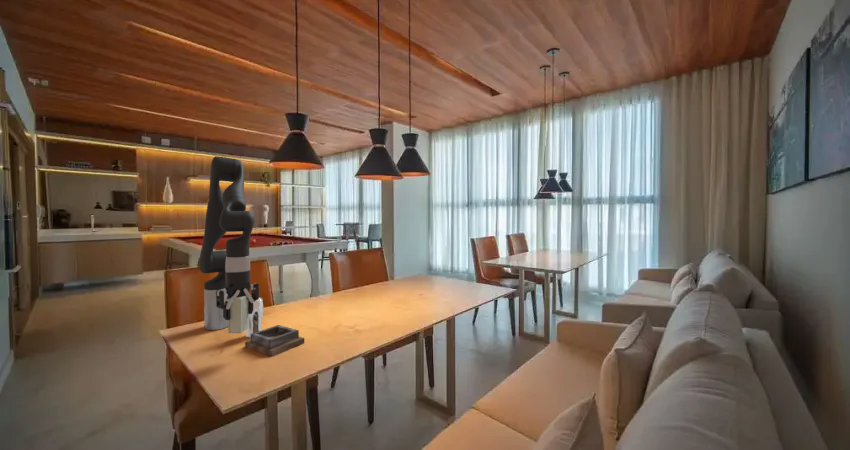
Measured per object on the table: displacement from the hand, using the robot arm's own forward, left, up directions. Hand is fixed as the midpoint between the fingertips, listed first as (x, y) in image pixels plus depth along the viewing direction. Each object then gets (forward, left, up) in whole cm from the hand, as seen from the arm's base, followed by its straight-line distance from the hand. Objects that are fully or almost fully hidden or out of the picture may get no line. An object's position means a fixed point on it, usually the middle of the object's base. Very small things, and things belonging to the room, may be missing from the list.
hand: (238, 316), depth 120 cm
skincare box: (0, 0, -5) cm, 5 cm away
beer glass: (-16, +16, -15) cm, 27 cm away
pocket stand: (0, +14, -15) cm, 20 cm away
